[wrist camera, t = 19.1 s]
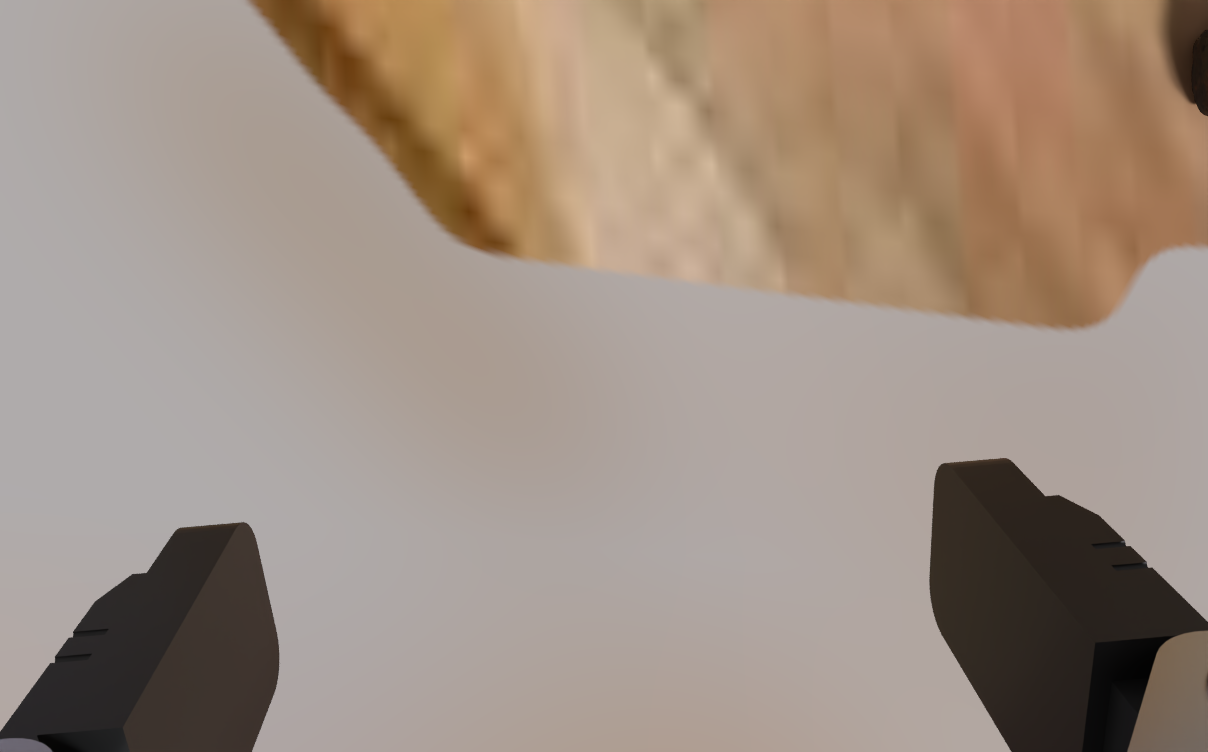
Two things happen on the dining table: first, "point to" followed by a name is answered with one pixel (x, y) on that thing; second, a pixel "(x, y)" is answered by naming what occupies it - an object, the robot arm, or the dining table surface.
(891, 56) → the dining table surface
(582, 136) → the dining table surface
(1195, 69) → the hand tool
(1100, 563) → the robot arm
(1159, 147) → the dining table surface
